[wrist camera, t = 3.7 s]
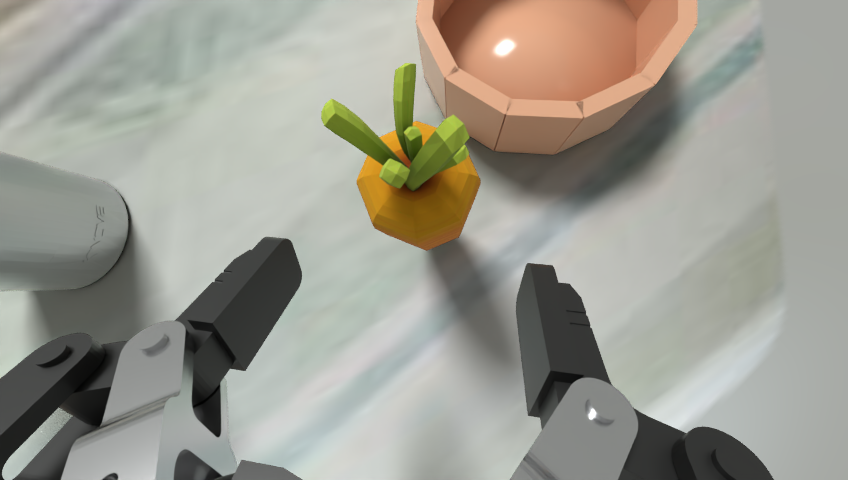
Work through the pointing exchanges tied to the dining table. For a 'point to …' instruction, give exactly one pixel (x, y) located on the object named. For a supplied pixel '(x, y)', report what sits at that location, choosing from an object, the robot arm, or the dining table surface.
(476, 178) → the carrot
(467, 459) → the dining table surface
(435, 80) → the terracotta bowl
